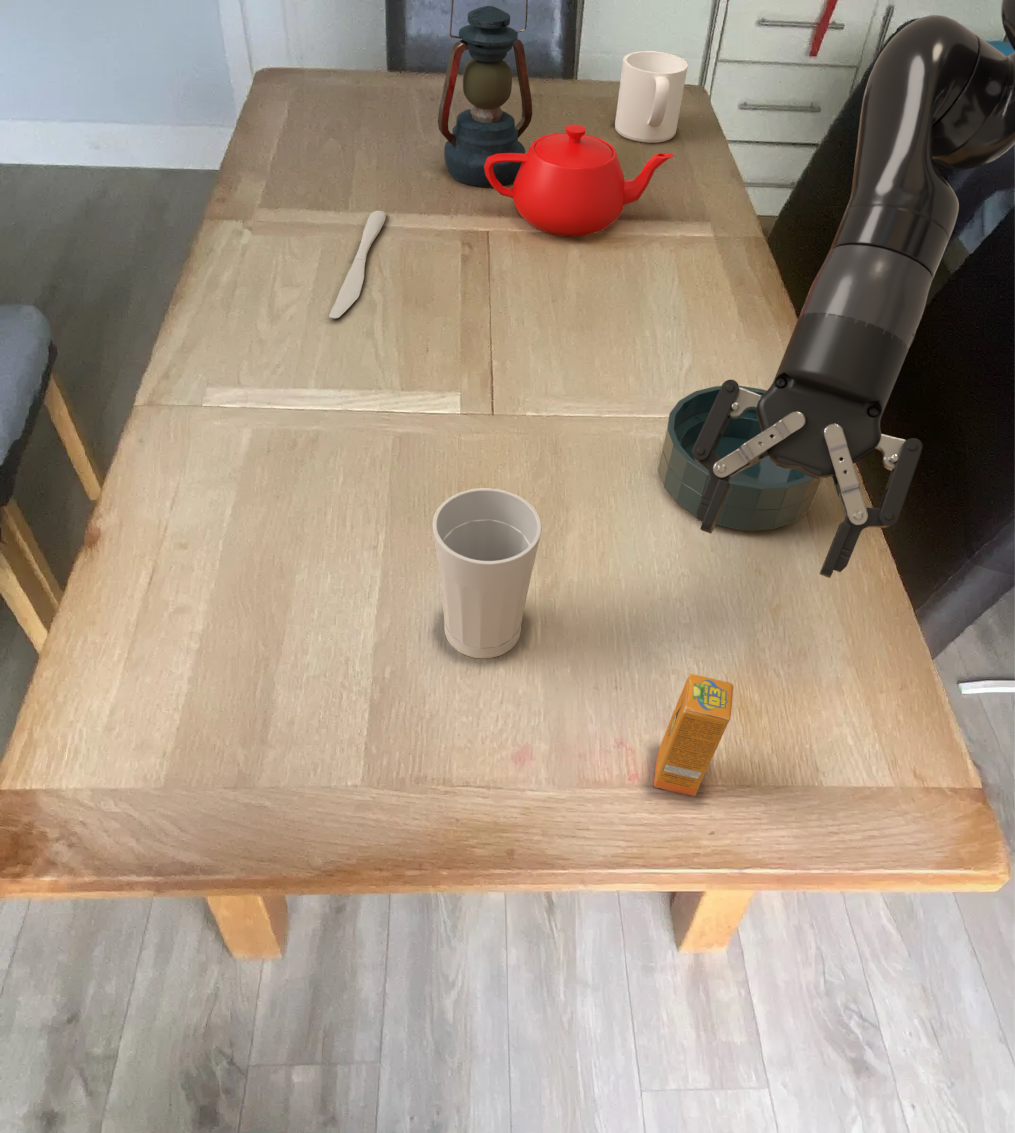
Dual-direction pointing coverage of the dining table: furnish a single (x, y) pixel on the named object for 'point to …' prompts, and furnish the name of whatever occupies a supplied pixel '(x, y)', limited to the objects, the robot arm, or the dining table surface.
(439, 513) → the cup
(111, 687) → the dining table surface
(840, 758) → the dining table surface
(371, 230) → the butter knife
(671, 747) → the supplement box
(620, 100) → the mug
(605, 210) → the teapot
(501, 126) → the lantern
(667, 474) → the bowl
